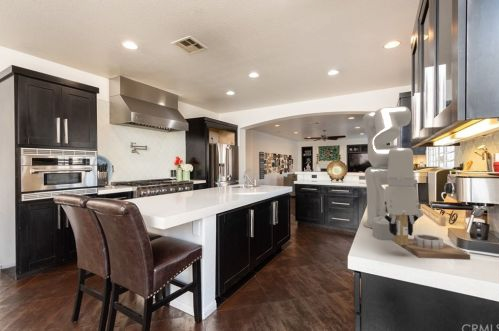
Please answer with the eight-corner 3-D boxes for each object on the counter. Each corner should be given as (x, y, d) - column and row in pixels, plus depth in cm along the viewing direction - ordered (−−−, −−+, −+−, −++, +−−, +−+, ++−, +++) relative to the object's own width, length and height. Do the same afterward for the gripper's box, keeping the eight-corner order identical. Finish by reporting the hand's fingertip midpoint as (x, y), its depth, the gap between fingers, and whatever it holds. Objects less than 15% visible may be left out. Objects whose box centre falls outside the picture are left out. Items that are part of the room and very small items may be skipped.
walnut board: (394, 241, 101) (394, 238, 101) (436, 242, 99) (436, 239, 99) (418, 257, 83) (418, 253, 83) (470, 259, 81) (470, 254, 81)
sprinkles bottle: (410, 245, 83) (410, 206, 82) (395, 244, 84) (395, 206, 84) (406, 241, 87) (405, 204, 87) (391, 240, 88) (391, 204, 88)
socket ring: (409, 241, 96) (409, 234, 96) (433, 242, 95) (433, 234, 95) (422, 249, 87) (422, 240, 87) (449, 249, 86) (449, 241, 86)
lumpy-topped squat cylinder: (375, 239, 104) (375, 219, 104) (370, 232, 116) (369, 214, 116) (403, 241, 101) (403, 221, 101) (394, 233, 113) (394, 215, 113)
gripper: (420, 181, 88) (420, 231, 88) (371, 182, 90) (371, 230, 90) (433, 183, 80) (433, 238, 81) (379, 184, 82) (380, 237, 83)
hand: (400, 233), depth 85 cm, fingers closed on sprinkles bottle, 4 cm apart
